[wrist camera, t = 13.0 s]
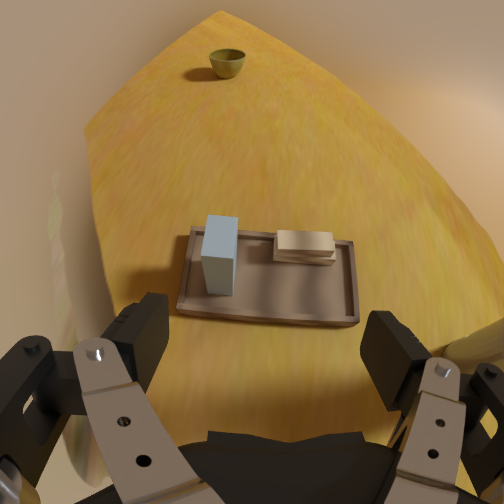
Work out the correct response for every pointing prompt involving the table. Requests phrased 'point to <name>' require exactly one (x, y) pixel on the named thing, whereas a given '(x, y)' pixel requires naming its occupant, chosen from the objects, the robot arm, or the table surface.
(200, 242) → the brown serving tray
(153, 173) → the table surface
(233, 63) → the green bowl
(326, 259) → the offcut stack
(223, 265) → the blue-grey rectangular block
